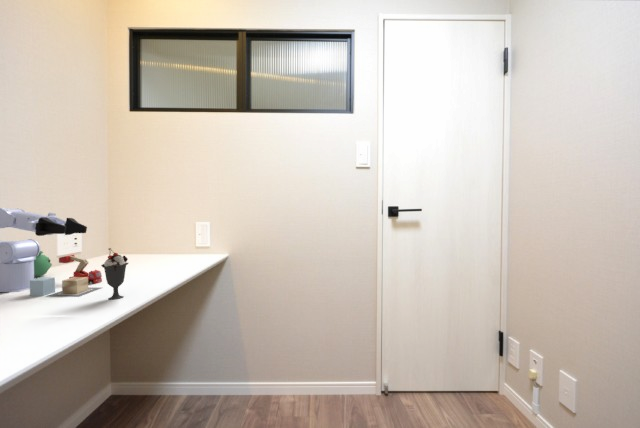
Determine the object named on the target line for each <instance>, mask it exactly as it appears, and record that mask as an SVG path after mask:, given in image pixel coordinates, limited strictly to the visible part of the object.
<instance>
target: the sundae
mask: <svg viewBox="0 0 640 428" xmlns="http://www.w3.org/2000/svg"><path fill="white" fill-rule="evenodd" d="M108 250H109V251H110V252H111V251H112V253H113V254H112V255H111V253H109V255H108V256H107V259H106V260H105V262H104V263H102V264H101V265H100V266H101V267H102V268H104V274H105V279H106V284H107V285H109V286H110V287H111V288H112V289H113V291H112V292H113V293H112V295H111V296H110V297H108V298H107V300H108V301H114V300H121V299H123V298H124V295H121V294H120V293H119V287H120V286H121V285H122V284H123V283H124V281H125V276H126V268H127V265H129V262H127V261H128V260H129V259H128V257H127V256H126V255H121V254H118V252H114V251H113V250H112V247H111V248H108Z"/></svg>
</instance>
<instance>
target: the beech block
mask: <svg viewBox="0 0 640 428" xmlns="http://www.w3.org/2000/svg"><path fill="white" fill-rule="evenodd" d="M72 277H73V276H72ZM61 286H62V287H61V288H62V289H61V291H62V294H78V293H81V292H84V291H86V290H88V288H89V284H88V277H73V278H69V277H68V278H66V279H63V280H62V281H61Z"/></svg>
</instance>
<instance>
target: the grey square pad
mask: <svg viewBox="0 0 640 428" xmlns="http://www.w3.org/2000/svg"><path fill="white" fill-rule="evenodd" d="M101 289H102V287H88V290H86V291H84V292H81V293H78V294H62V290H61V291H57V292H54V293H51V294H48V295H45V296H44V297H45V298H46V297H55V298H56V297H60V298H61V297H67V298H68V297H69V298H70V297H71V298H75V297H77V298H79V297H82V296H85V295H88V294H91V293H93V292H95V291H96V292H97V291H98V290H101Z"/></svg>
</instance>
